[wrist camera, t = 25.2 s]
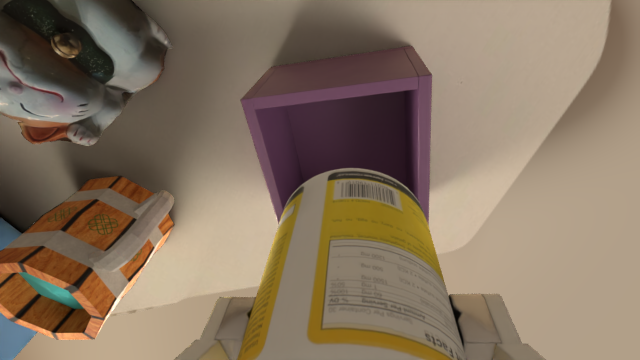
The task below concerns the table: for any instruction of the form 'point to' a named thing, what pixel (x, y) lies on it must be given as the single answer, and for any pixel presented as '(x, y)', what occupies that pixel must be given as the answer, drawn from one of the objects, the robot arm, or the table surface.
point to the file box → (343, 120)
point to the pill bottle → (352, 277)
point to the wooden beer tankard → (82, 257)
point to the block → (3, 335)
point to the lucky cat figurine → (74, 64)
